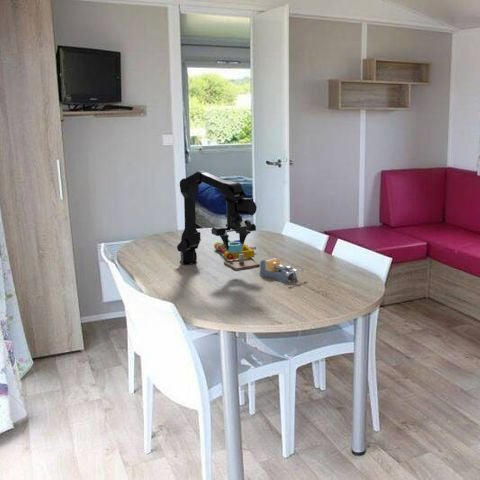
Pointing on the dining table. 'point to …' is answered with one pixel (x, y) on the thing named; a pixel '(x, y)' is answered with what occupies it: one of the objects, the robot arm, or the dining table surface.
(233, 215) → the robot arm
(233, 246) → the ring
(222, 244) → the yellow jointed frame
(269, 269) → the vise
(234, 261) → the post stand
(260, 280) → the dining table surface
